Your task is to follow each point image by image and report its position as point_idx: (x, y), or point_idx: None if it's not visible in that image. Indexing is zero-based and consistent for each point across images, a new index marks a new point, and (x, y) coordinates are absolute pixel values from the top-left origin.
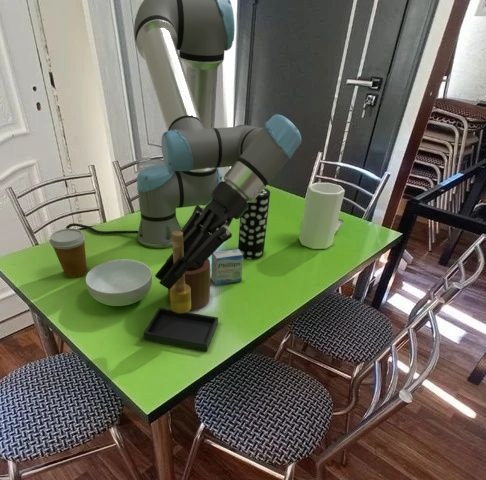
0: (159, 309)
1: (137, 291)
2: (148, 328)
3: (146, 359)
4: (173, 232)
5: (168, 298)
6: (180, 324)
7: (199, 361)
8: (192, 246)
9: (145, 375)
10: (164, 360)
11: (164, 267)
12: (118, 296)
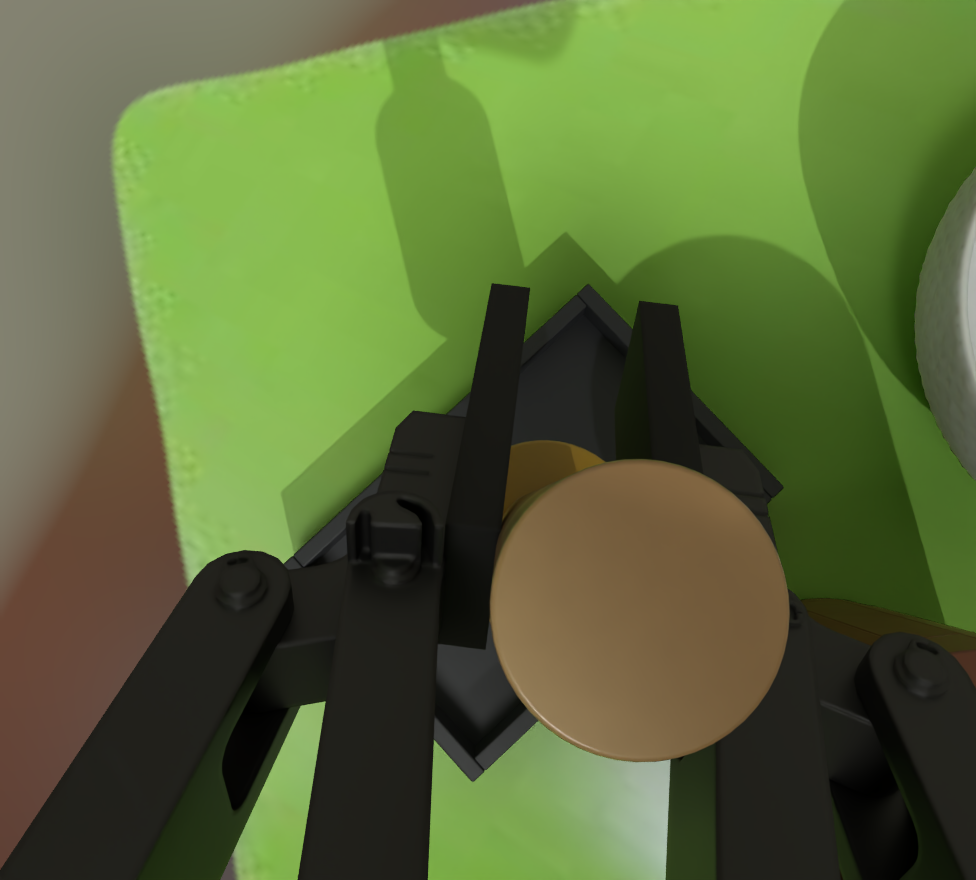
0: (762, 477)
1: (950, 364)
2: (611, 328)
3: (424, 242)
4: (726, 536)
5: (879, 607)
6: None
7: (252, 483)
8: (380, 784)
9: (319, 190)
10: (364, 322)
11: (645, 390)
12: (956, 216)
